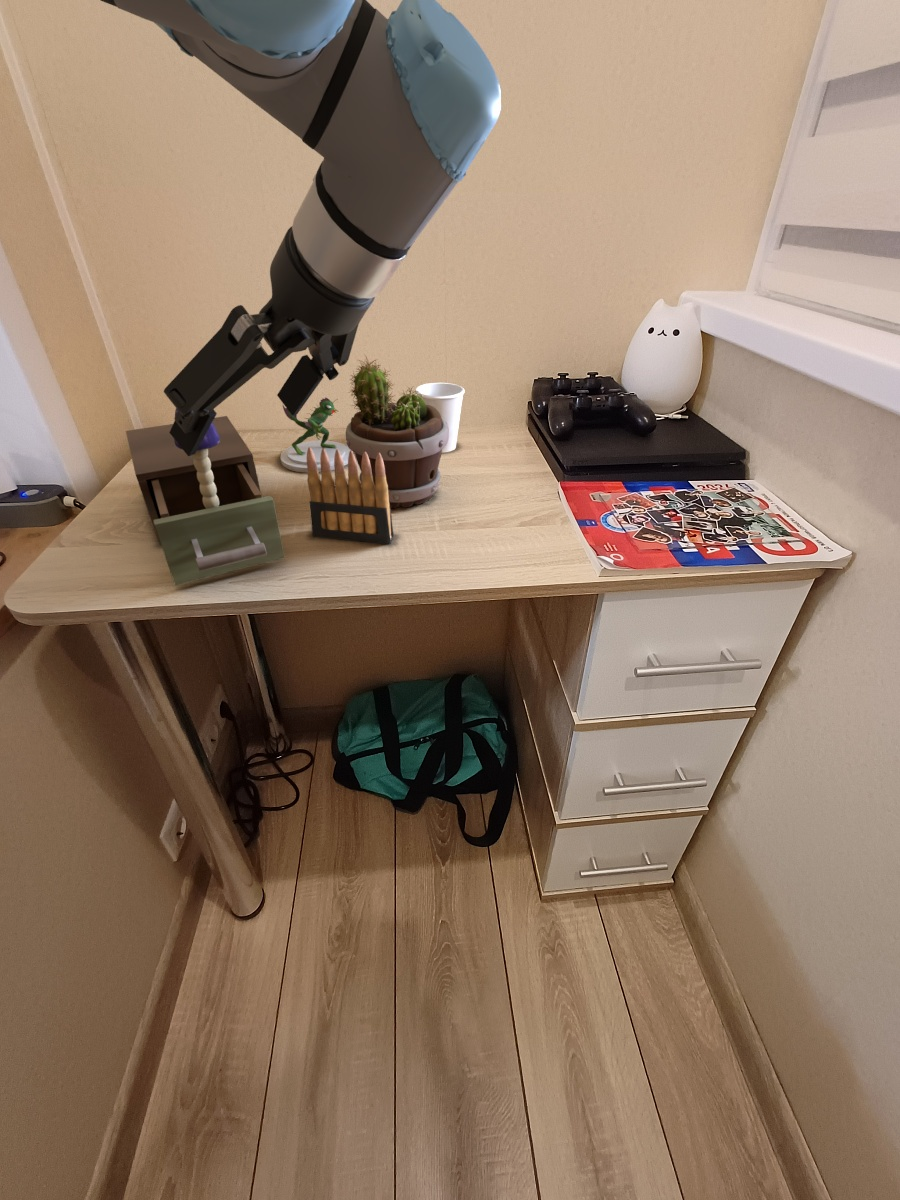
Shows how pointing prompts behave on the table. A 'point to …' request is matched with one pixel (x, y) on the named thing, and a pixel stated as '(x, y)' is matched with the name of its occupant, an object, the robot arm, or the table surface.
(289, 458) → the monster figurine
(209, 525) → the drawer
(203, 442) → the toy lamp
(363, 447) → the flowerpot
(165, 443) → the cabinet
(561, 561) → the table surface
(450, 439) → the dixie cup
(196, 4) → the robot arm
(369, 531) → the ammunition clip
